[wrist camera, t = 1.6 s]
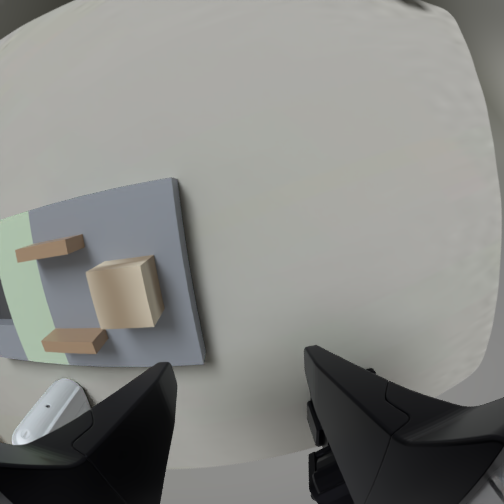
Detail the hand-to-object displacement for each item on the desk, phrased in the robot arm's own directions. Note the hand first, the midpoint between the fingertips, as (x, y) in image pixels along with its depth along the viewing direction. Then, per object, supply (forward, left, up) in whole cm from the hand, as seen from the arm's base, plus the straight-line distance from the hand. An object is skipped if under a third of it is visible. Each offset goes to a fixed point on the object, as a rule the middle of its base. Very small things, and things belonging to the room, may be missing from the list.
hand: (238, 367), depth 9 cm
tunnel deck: (+17, 0, -13) cm, 21 cm away
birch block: (+8, 0, -11) cm, 13 cm away
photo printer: (+20, +15, -13) cm, 28 cm away
